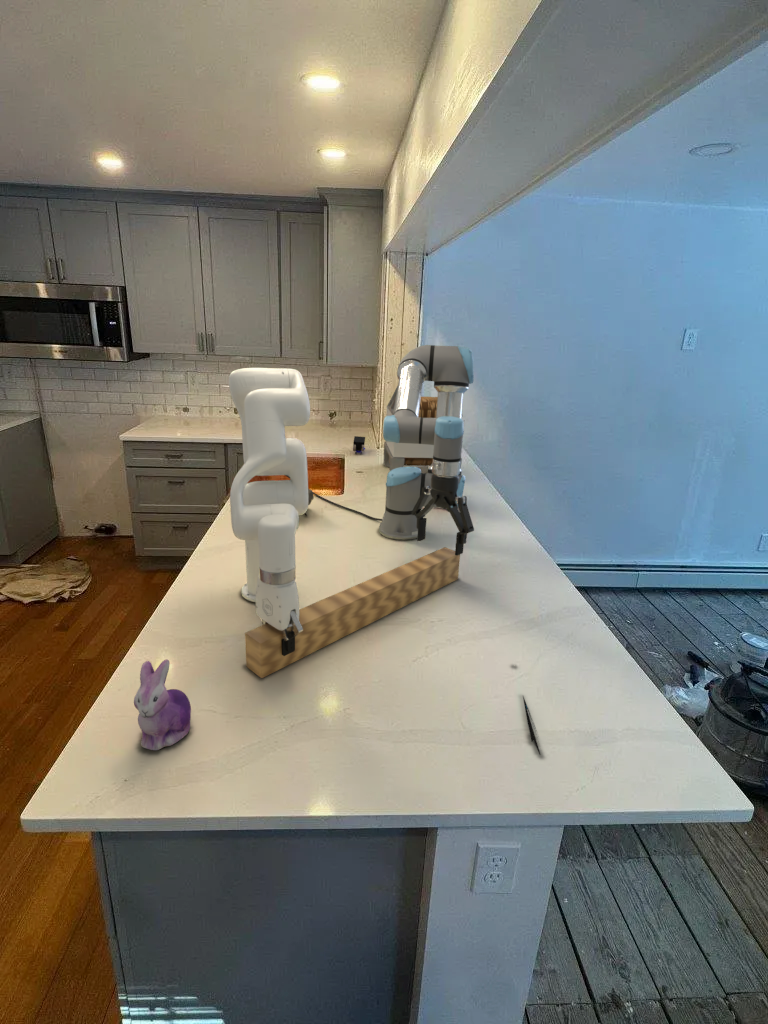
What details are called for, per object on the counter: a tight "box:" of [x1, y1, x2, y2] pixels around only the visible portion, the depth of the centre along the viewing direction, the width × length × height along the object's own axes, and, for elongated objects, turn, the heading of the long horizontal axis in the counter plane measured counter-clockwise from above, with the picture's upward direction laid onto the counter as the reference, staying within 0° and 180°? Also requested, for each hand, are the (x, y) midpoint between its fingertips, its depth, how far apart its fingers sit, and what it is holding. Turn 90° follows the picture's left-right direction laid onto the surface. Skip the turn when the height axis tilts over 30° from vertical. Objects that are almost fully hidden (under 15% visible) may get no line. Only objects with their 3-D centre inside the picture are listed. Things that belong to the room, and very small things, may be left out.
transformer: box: [383, 385, 465, 472], centre depth 268 cm, size 34×33×41 cm
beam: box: [244, 546, 461, 679], centre depth 144 cm, size 70×6×9 cm, turn 137°
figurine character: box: [352, 435, 366, 455], centre depth 308 cm, size 7×8×15 cm
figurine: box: [133, 658, 192, 751], centre depth 101 cm, size 9×10×15 cm
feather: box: [513, 664, 541, 755], centre depth 114 cm, size 2×28×2 cm
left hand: (279, 646), depth 125 cm, fingers closed on beam, 5 cm apart
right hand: (439, 546), depth 161 cm, fingers open, 13 cm apart
